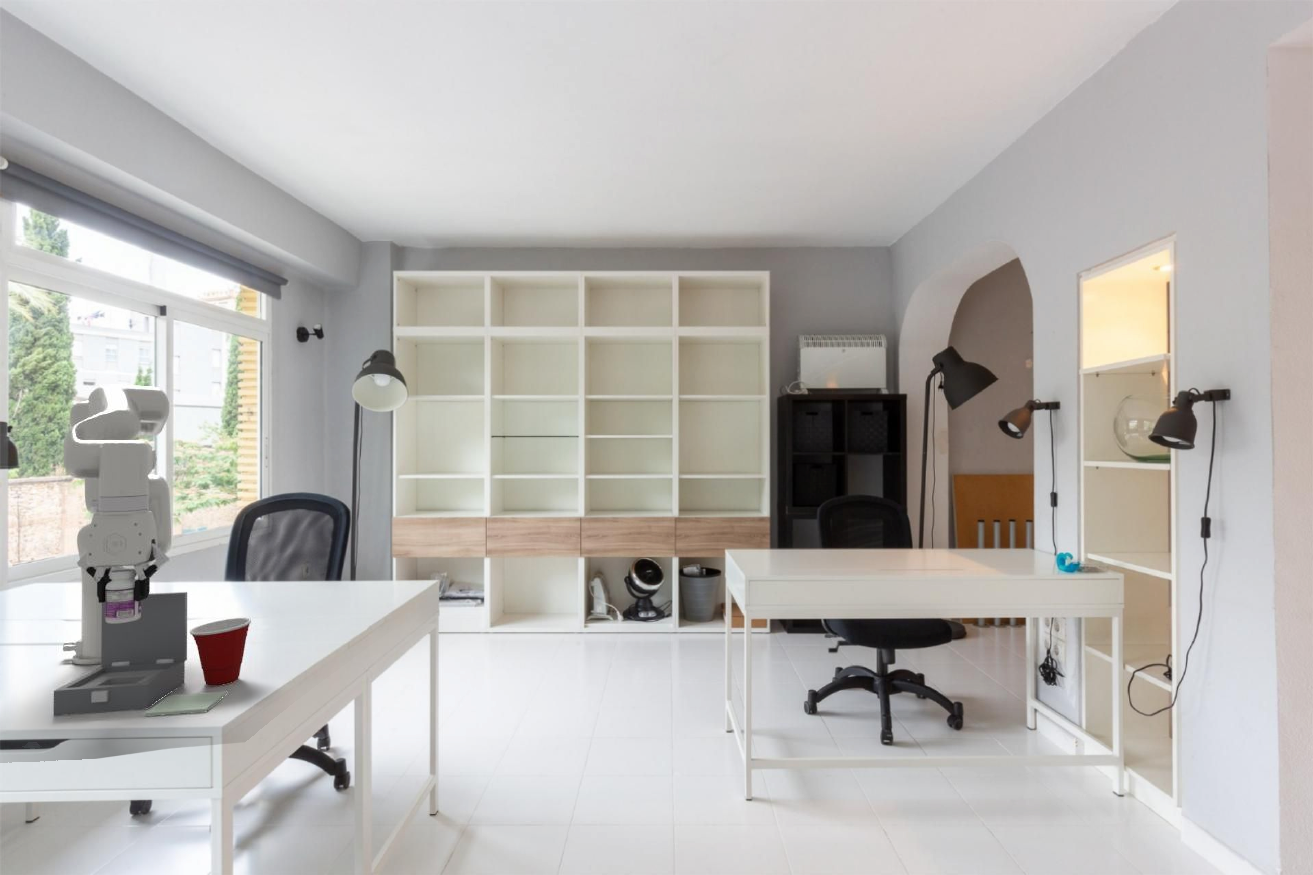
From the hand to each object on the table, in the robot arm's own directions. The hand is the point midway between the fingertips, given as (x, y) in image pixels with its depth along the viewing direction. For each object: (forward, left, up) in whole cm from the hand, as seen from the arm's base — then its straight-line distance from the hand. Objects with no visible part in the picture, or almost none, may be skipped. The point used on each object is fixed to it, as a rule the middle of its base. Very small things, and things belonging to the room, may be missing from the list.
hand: (123, 599), depth 129 cm
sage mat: (+13, -5, -19) cm, 24 cm away
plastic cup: (+14, +8, -20) cm, 25 cm away
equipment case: (-1, +2, -19) cm, 19 cm away
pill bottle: (0, 0, -4) cm, 4 cm away
